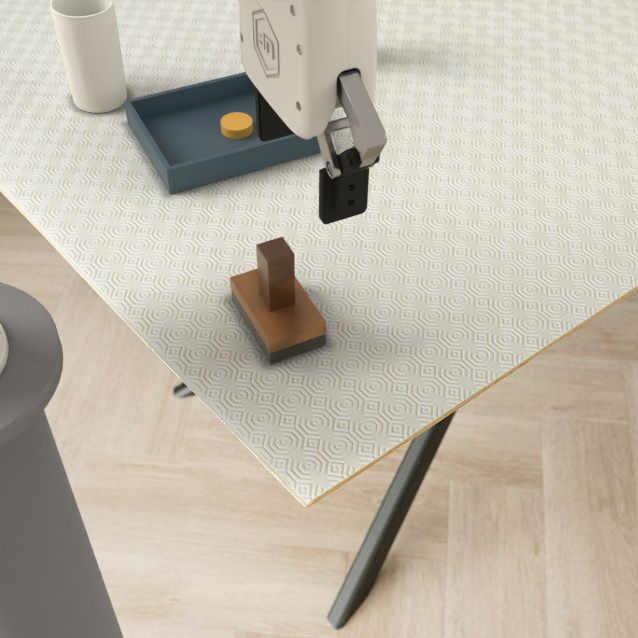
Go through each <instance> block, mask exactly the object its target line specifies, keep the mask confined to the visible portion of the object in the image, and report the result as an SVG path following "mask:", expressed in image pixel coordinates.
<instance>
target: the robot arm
mask: <svg viewBox="0 0 638 638" xmlns="http://www.w3.org/2000/svg"><path fill="white" fill-rule="evenodd" d="M238 3H239V6H238V7H239V49H240V50H239V51H240V62H241V65H242V67H243V71H244V72H246V74H247V75H248V77H249V78H250V80H251V81H252V82H253V84H254V85H255V86H256V88H255V105H256V125H257V136H258V137H259V139H260V140H261V141H263V142H265V141H270V140H274V139H278V138H281V137H285V136H289V135H292V134H296V135H298V136H299V137H301V138H303V139H311V138H312V137H315V136H317V139H318V143H319V146H320V150H321V153H320V154H321V156H322V160H323V164H324V167H323V168H320V169H318V219H319V220H320V221H321V223H322V224H323V225H330V224H332V223H333V224H334V223H336V222H339V221H342V220H346V219H349V218H353V217H356V216H359V215H363V214H364V213H365V212H366V211H367V209H368V201H369V185H370V184H369V181H370V168H371V169H372V168H373V167H375V165H377V164H378V163H379V162H380V160H381V154H382V152H383V151H384V148H385V146H386V145H387V142H388V135H387V132H386V130H385V128H384V125H383V123H382V121H381V118H380V117H379V115H378V112H377V109H376V108H375V100H376V90H377V89H376V88H377V71H378V70H377V69H378V17H377V16H378V14H377V0H238ZM339 108H340V109H341V108H342V109H343V111H344V113H345V115H346V116H345V117H342V118H338V119H334V120H331V119H332V115H333V114H334V111H335V110H337V109H339ZM347 129H349V130H350V135H351V139H352V147H350V148H347V149H345V150H343V151H342V152H340V153H338V150H337V147H336V143H335V139H334V135H333V136H332V133H333V134H334V133H336V132H340V131H343V130H347ZM8 352H9V344H8V341H7V337H6V334H5V332H4V329H3V327H2V325H1V324H0V374H1V372H2V370H3V368H4V367H5V365H6V361H7V358H8Z"/></svg>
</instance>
